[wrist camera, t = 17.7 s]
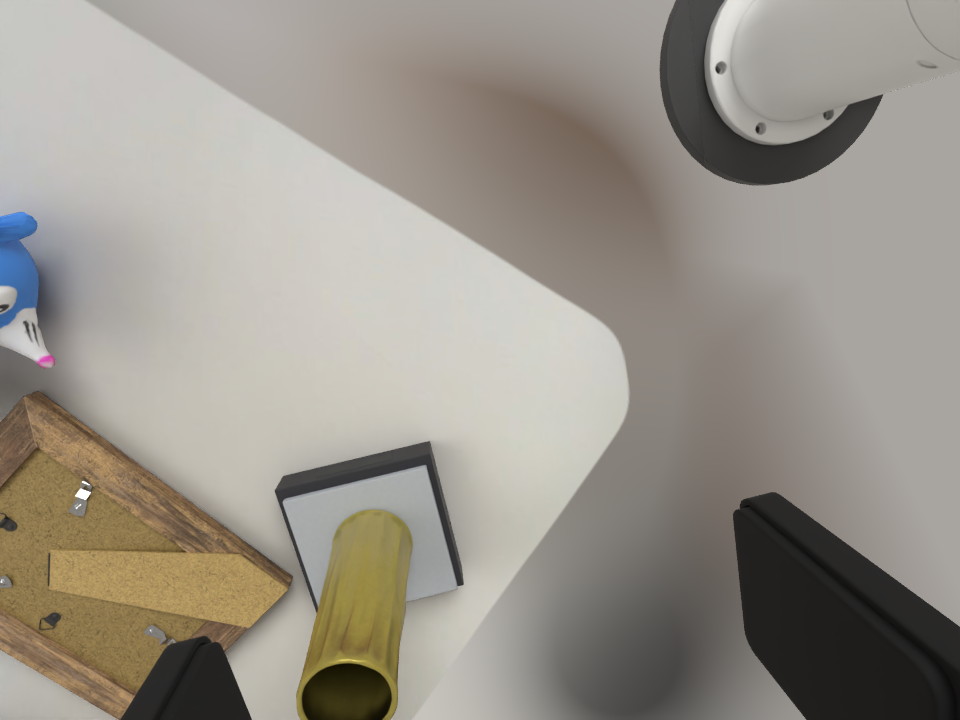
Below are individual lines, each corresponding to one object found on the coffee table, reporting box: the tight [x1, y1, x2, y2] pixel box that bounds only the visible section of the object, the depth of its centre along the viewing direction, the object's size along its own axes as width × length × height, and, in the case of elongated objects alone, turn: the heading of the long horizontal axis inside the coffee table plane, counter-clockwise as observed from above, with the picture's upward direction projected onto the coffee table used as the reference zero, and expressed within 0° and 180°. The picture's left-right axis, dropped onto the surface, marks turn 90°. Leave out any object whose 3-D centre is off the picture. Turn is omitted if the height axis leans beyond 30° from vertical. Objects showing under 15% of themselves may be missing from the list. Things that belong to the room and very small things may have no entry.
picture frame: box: [0, 391, 293, 720], centre depth 41 cm, size 19×2×24 cm
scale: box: [275, 441, 464, 612], centre depth 42 cm, size 12×12×3 cm
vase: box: [296, 509, 413, 720], centre depth 34 cm, size 6×6×14 cm
